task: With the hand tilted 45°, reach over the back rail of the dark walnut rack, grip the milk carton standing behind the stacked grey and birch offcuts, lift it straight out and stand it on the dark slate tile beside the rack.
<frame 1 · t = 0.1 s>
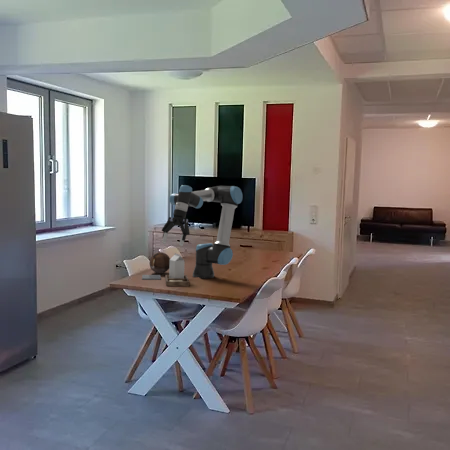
hand: (172, 244, 282), 28 cm above the table, tool tilted 20°, fingers open, 13 cm apart
milk carton: (176, 283, 307), on the table
slate tile: (151, 279, 314), on the table
walnut rack: (176, 284, 302), on the table
grey offcut: (177, 287, 297), on the table, touching birch offcut
wooden sphere: (159, 273, 338), on the table
birch offcut: (176, 284, 297), point 1 cm above the table, touching grey offcut
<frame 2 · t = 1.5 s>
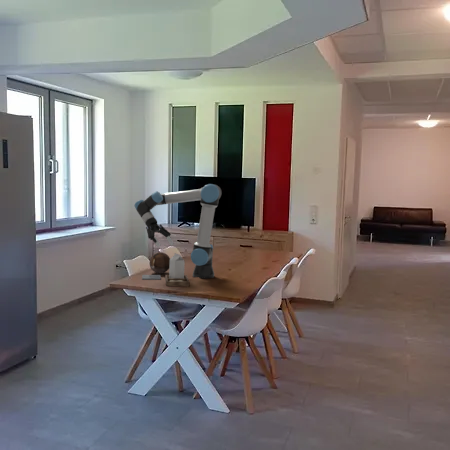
hand: (166, 245, 310), 23 cm above the table, tool tilted 45°, fingers open, 13 cm apart
nothing on the table moved.
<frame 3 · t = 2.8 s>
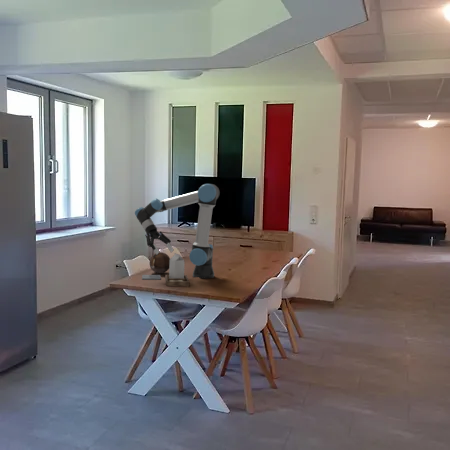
hand: (165, 252, 311), 19 cm above the table, tool tilted 45°, fingers open, 13 cm apart
nothing on the table moved.
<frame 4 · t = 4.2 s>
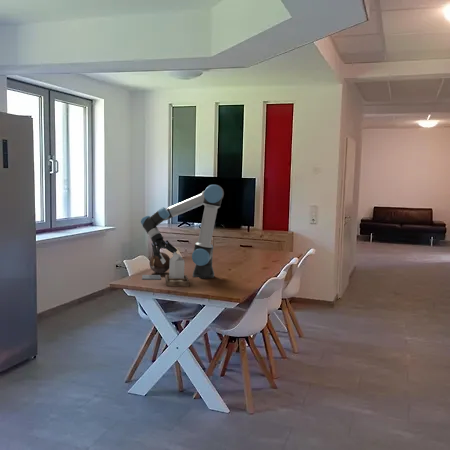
hand: (171, 261, 308), 13 cm above the table, tool tilted 45°, fingers open, 13 cm apart
nothing on the table moved.
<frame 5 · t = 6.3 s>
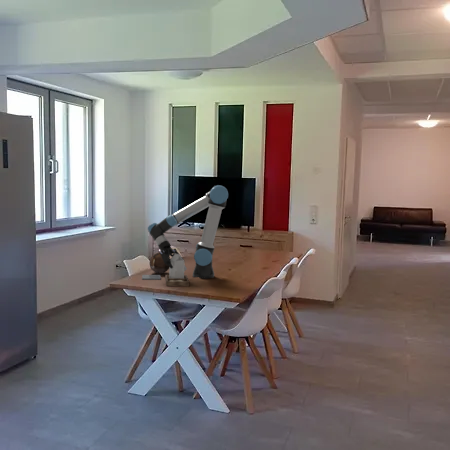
hand: (180, 271, 304), 8 cm above the table, tool tilted 45°, fingers closed on milk carton, 9 cm apart
milk carton: (176, 283, 307), on the table, touching gripper
everything else where it was.
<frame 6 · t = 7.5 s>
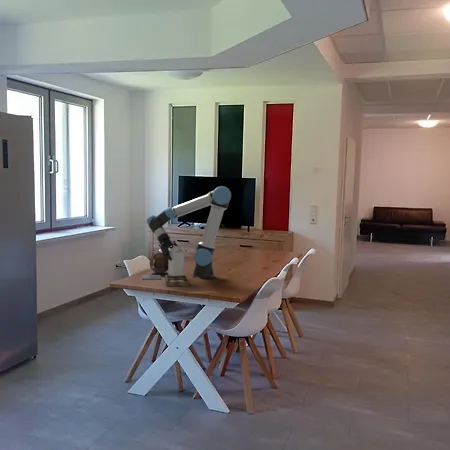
hand: (179, 262, 304), 13 cm above the table, tool tilted 45°, fingers closed on milk carton, 9 cm apart
milk carton: (175, 275, 307), point 5 cm above the table, touching gripper
everything else where it was.
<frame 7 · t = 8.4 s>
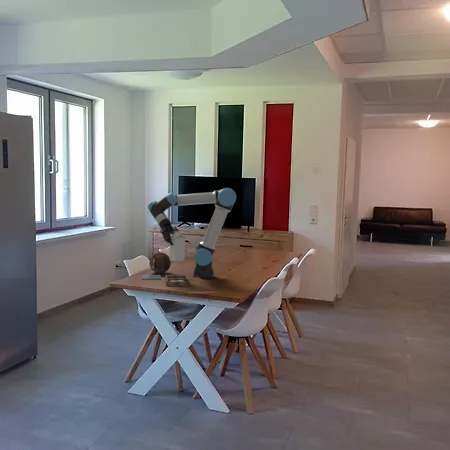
hand: (181, 248, 303), 23 cm above the table, tool tilted 45°, fingers closed on milk carton, 9 cm apart
milk carton: (176, 260, 306), point 14 cm above the table, touching gripper
grey offcut: (177, 287, 297), on the table
birch offcut: (177, 284, 297), point 1 cm above the table
everything else where it was.
when the fingers open (12 cm above the table, at t = 12.7 s): milk carton drops 1 cm, resting on slate tile.
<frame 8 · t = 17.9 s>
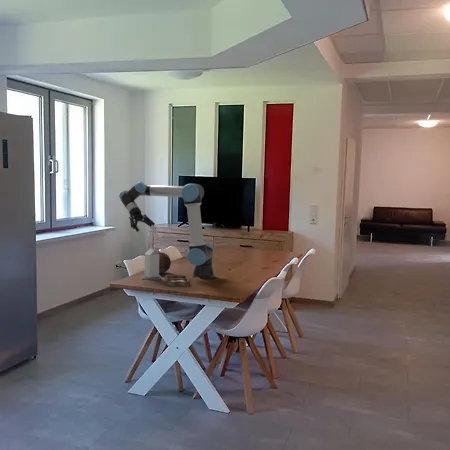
hand: (148, 234, 316), 30 cm above the table, tool tilted 45°, fingers open, 13 cm apart
milk carton: (151, 276, 315), point 2 cm above the table, touching slate tile
grey offcut: (177, 287, 297), on the table, touching birch offcut
birch offcut: (177, 284, 297), point 1 cm above the table, touching grey offcut
everything else where it was.
at the end: milk carton inside the target area on the slate tile (0.2 cm from its centre), point 1.8 cm above the slate tile's base; milk carton tilted 0°; the gripper is holding nothing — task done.
